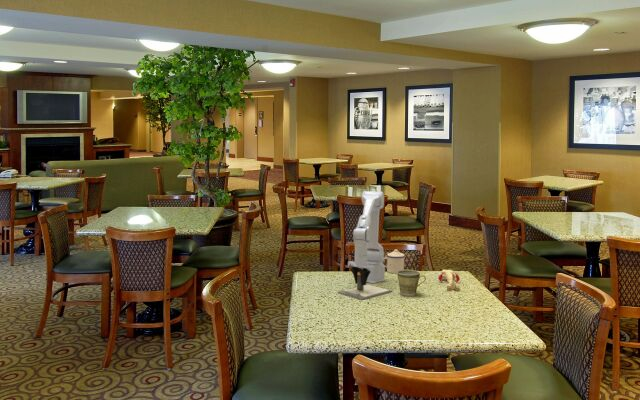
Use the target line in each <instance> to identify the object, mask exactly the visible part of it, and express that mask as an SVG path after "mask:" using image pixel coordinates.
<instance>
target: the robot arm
mask: <svg viewBox="0 0 640 400" xmlns="http://www.w3.org/2000/svg"><path fill="white" fill-rule="evenodd" d="M361 203H362V206H363V211H362V214H361V215H360V216H359V218H358V221H357V224H356V227H355V228H354V229H353V233H352V235H353V236H352V238H353V239H352V240H353V245H354V261H353V260H352V261H351V260H350V261H347V266H348V267H351V268H350V271H351V273H352V275H353V278H354V282H355V284H356V285H357V272H360V274H361V284H362V285H367V283H370V284H376V283H381V282H383V281H386V278H385V274H386V273H385V270H386V267H384V265H385V264H384V263H382V262H384V260H385V259H384V258H385V252H384V247H383V245H382V244H380V243H379V226H380V213H381V209H383V208H384V206H385V194H384V192H383V191H372V190H371V191H370V190H363V191H362V194H361ZM383 259H384V260H383Z"/></svg>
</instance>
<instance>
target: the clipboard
mask: <svg viewBox="0 0 640 400" xmlns="http://www.w3.org/2000/svg"><path fill="white" fill-rule="evenodd" d="M389 293H390V294H391V293H393V290H391V289H387V288H384V287H380V286H376V285H374V284H368V283H366V285H364V290H362V291H359V290H357V286H356V287H350V288H347V289H343V290H339V291H337V294H340V295H342V296H347V297H351V298H353V299H356V300H360V301H363V300H368V299H371V298H375V297H377V296H378V297H379V296H382V295H386V294H389Z"/></svg>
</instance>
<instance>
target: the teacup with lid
mask: <svg viewBox="0 0 640 400" xmlns="http://www.w3.org/2000/svg"><path fill="white" fill-rule="evenodd" d="M405 257H406V255H405V254H404V253H402V252H400V251H399V250H398V249H394V250H393V251H391V252H389V253H387V255H386V256H384V259H383V262H384V260H386V263H387V264H386V265H385V264H384V263H383V262H382V263H383V264H384V267H385V268H386V272H387V273H389V274H394V273H396V274H395V275H397V272H398V271H400V270H405Z"/></svg>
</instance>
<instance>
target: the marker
mask: <svg viewBox="0 0 640 400" xmlns="http://www.w3.org/2000/svg"><path fill="white" fill-rule="evenodd" d="M356 287H357V290H359V291H362V290H364V285H362V284H361V274H360V272H357V284H356Z"/></svg>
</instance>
